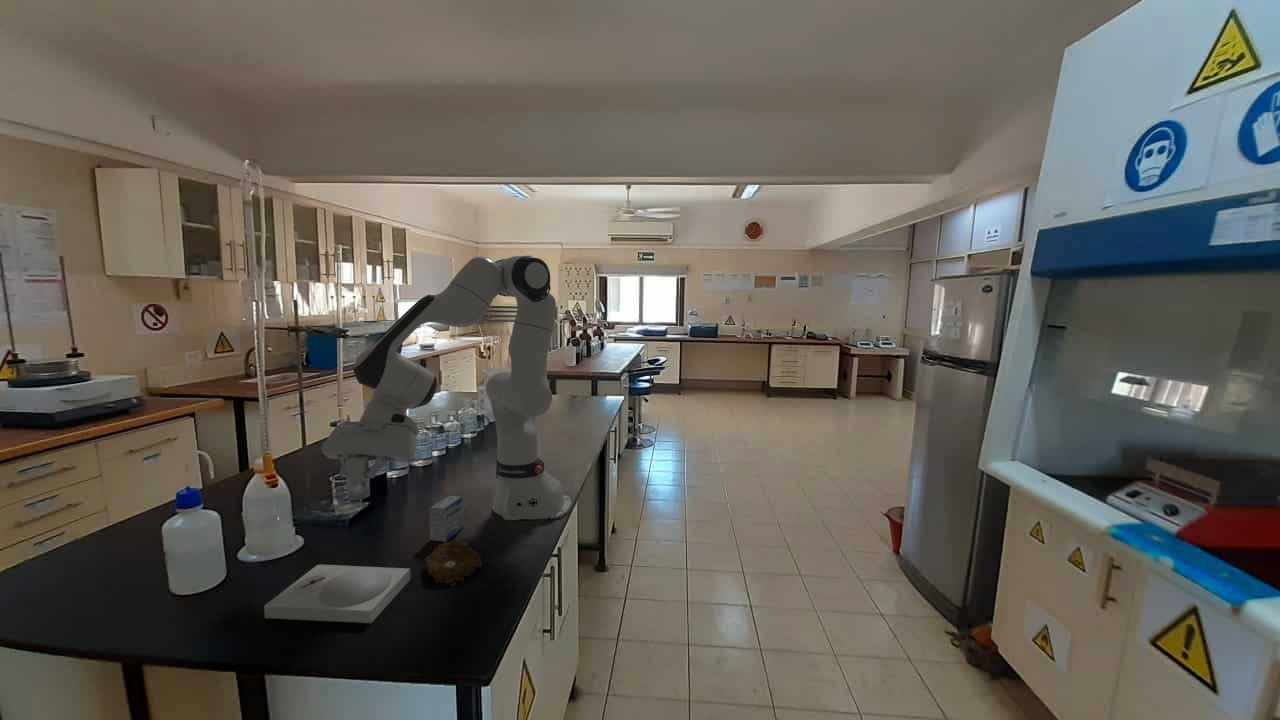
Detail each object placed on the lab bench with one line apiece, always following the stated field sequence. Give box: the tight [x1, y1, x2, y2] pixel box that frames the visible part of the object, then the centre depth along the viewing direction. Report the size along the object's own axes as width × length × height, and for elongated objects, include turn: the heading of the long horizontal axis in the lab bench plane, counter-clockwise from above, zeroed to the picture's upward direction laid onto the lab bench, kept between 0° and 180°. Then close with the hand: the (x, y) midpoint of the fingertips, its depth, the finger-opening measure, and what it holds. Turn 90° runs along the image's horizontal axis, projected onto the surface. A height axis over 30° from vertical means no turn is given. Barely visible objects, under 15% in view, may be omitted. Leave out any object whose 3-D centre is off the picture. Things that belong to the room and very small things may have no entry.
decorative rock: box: [424, 539, 484, 586], centre depth 106 cm, size 11×4×15 cm
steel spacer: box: [345, 455, 371, 501], centre depth 106 cm, size 4×4×9 cm
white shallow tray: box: [263, 564, 411, 624], centre depth 94 cm, size 20×14×3 cm
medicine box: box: [428, 495, 464, 543], centre depth 120 cm, size 8×4×9 cm, turn 168°
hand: (356, 476), depth 106 cm, fingers closed on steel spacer, 4 cm apart
